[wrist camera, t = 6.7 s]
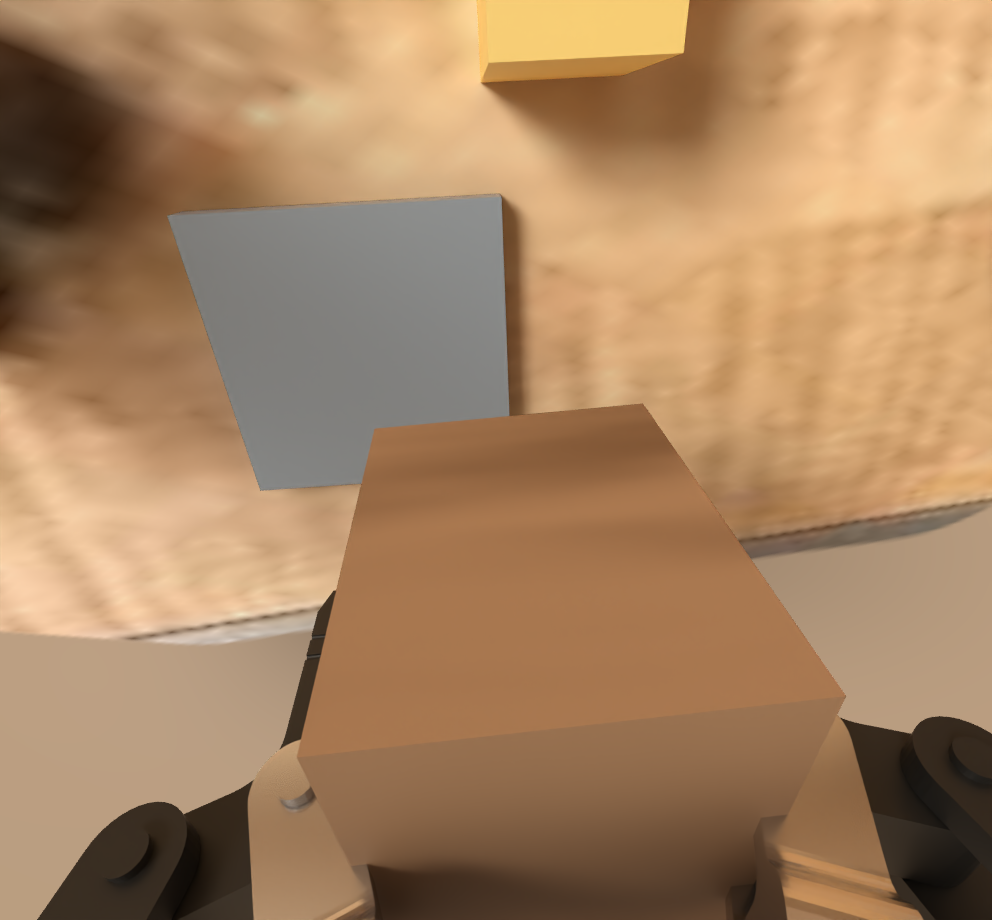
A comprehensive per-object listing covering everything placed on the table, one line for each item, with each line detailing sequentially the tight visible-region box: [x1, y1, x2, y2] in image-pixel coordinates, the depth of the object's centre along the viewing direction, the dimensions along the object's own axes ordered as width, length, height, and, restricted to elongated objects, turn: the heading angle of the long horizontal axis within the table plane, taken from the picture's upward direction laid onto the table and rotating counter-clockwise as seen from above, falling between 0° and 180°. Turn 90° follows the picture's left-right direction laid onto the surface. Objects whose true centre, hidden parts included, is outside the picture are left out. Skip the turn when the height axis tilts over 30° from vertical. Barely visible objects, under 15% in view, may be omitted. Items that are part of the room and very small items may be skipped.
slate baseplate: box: [167, 194, 509, 491], centre depth 23 cm, size 12×12×1 cm
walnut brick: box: [297, 404, 846, 920], centre depth 9 cm, size 7×5×6 cm
